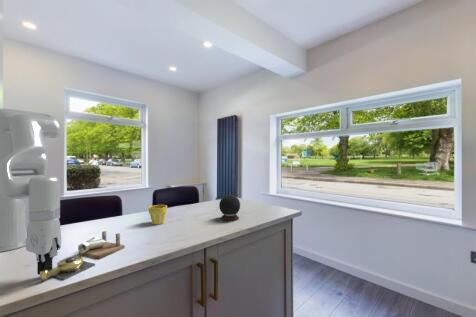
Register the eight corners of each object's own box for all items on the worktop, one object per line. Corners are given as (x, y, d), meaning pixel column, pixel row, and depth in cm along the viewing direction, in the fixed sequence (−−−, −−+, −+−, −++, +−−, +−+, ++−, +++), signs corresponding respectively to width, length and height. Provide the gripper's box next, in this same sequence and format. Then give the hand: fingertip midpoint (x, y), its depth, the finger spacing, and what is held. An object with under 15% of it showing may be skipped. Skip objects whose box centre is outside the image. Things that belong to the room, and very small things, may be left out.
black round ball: (239, 215, 144) (239, 193, 144) (241, 221, 131) (241, 196, 131) (219, 216, 143) (219, 193, 143) (219, 222, 130) (218, 196, 130)
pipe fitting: (107, 246, 92) (92, 244, 92) (108, 237, 92) (92, 235, 92) (94, 254, 84) (77, 252, 84) (95, 244, 84) (78, 242, 84)
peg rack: (78, 254, 86) (78, 238, 86) (104, 244, 97) (104, 230, 97) (99, 259, 82) (99, 242, 82) (124, 248, 92) (124, 233, 92)
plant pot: (145, 222, 129) (145, 206, 129) (162, 219, 136) (162, 203, 136) (152, 226, 121) (152, 209, 121) (170, 223, 128) (170, 206, 128)
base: (44, 274, 71) (44, 272, 71) (76, 260, 81) (76, 259, 81) (63, 280, 68) (63, 278, 68) (95, 265, 77) (95, 263, 77)
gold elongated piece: (33, 278, 68) (33, 268, 68) (74, 261, 79) (74, 252, 79) (47, 282, 65) (47, 272, 65) (87, 264, 76) (87, 255, 76)
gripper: (16, 215, 69) (16, 274, 69) (45, 220, 63) (45, 283, 63) (44, 210, 76) (44, 263, 76) (72, 214, 70) (73, 271, 70)
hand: (45, 272), depth 70 cm, fingers closed
